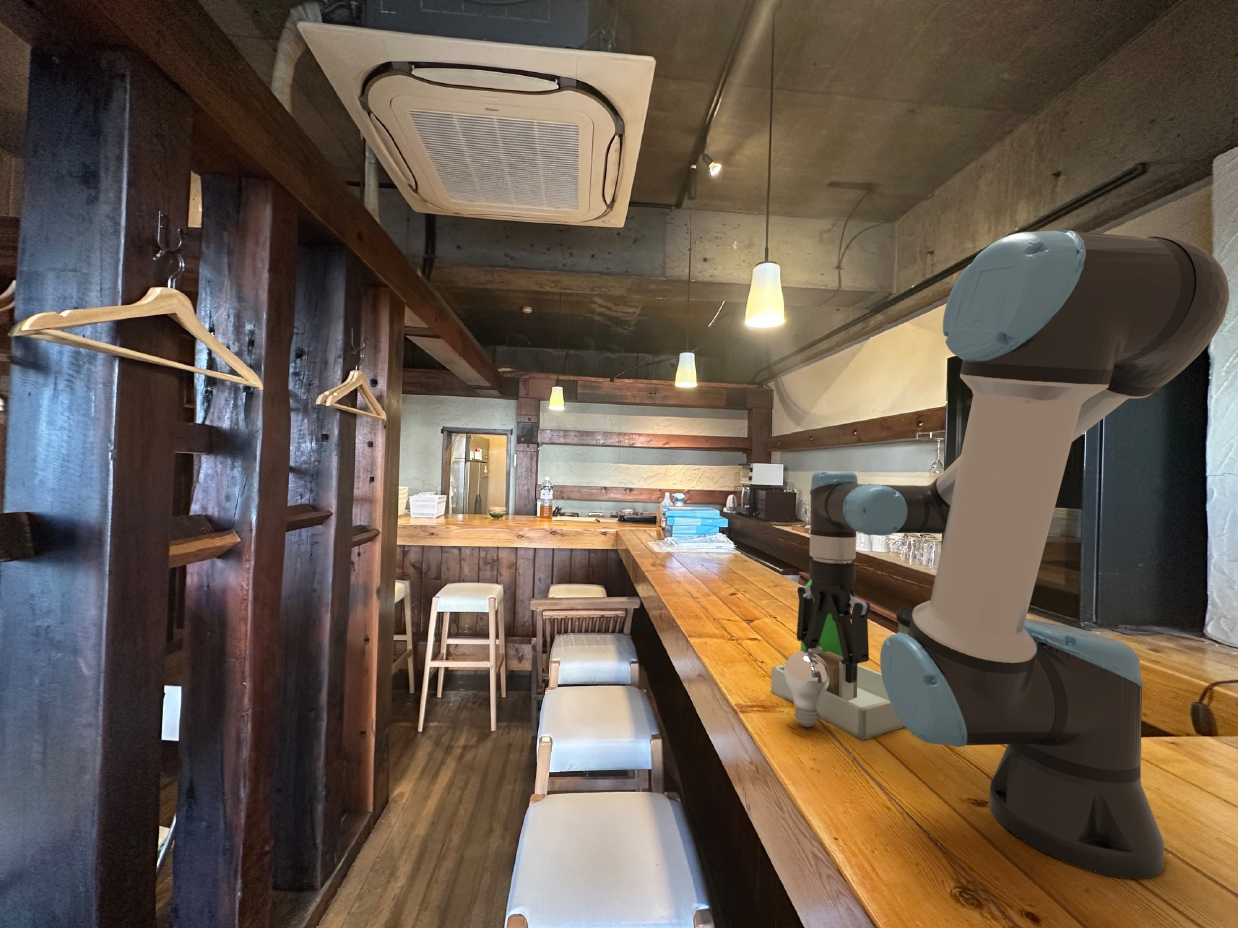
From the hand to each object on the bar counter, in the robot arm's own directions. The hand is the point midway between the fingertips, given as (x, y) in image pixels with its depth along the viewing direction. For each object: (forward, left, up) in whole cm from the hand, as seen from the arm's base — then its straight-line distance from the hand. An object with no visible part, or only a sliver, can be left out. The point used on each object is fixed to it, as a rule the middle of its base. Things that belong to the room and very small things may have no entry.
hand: (829, 691), depth 91 cm
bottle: (+15, -15, -3) cm, 21 cm away
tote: (0, -4, -3) cm, 5 cm away
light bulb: (-3, +9, -3) cm, 10 cm away
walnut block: (0, 0, 0) cm, 0 cm away
